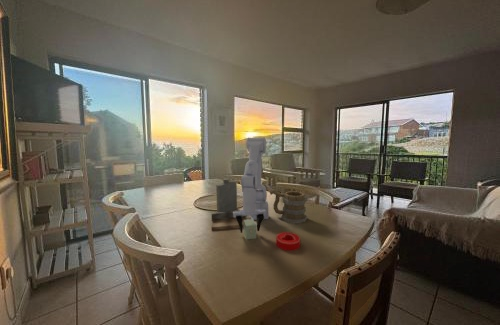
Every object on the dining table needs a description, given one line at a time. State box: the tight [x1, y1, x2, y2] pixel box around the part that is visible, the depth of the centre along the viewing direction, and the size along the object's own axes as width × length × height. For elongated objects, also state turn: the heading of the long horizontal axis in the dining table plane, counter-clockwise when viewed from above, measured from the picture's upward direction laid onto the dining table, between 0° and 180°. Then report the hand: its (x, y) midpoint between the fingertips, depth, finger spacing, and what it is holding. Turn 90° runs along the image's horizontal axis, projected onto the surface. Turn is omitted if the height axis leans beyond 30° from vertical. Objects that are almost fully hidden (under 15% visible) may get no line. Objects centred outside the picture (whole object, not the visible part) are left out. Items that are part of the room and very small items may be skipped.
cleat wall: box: [211, 210, 248, 231], centre depth 103 cm, size 18×10×5 cm, turn 100°
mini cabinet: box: [243, 218, 257, 240], centre depth 91 cm, size 4×8×6 cm, turn 10°
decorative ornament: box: [275, 231, 301, 251], centre depth 83 cm, size 10×10×3 cm
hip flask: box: [215, 178, 238, 213], centre depth 121 cm, size 16×4×20 cm, turn 143°
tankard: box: [269, 189, 308, 225], centre depth 111 cm, size 20×13×15 cm, turn 65°
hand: (249, 231), depth 91 cm, fingers open, 7 cm apart
